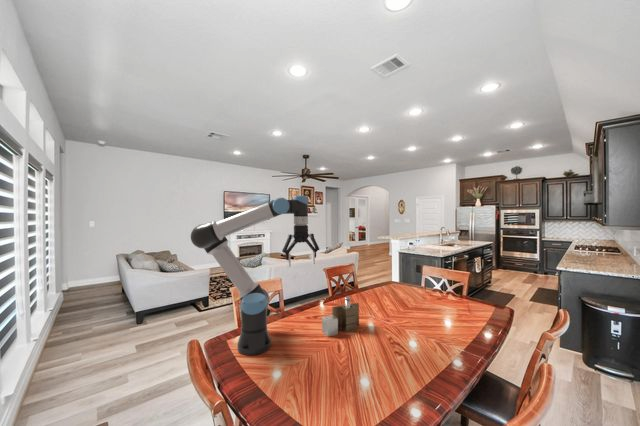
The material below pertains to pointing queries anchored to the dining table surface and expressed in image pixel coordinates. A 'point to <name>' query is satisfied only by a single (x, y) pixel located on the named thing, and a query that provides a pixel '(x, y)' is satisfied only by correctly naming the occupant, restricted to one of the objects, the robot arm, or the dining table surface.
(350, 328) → the brown holed block
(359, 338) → the dining table surface
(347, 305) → the pin
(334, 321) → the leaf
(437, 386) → the dining table surface
